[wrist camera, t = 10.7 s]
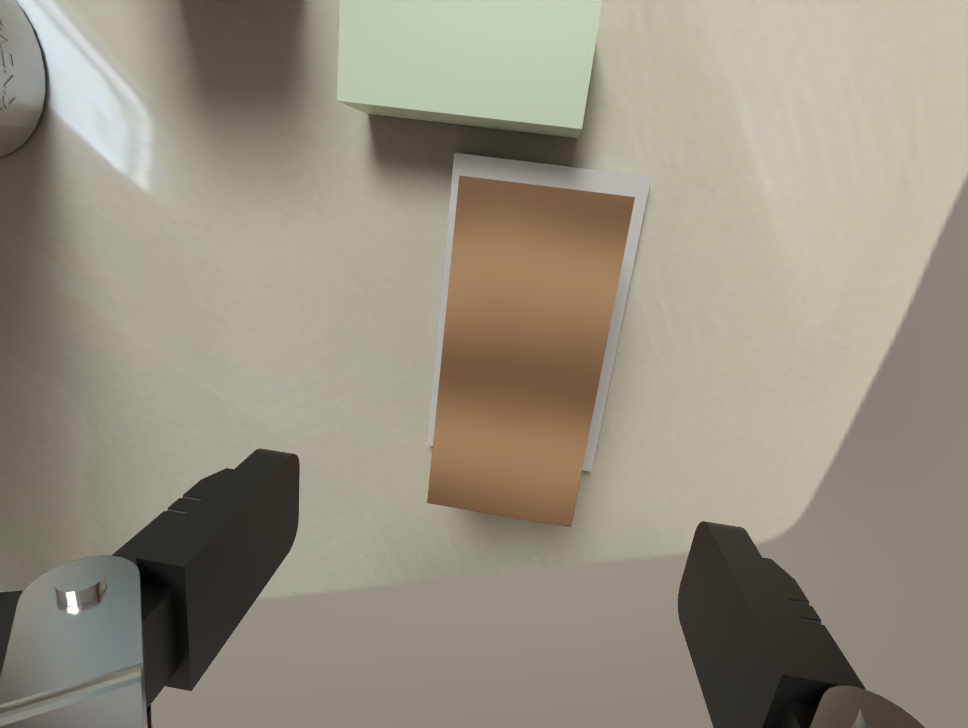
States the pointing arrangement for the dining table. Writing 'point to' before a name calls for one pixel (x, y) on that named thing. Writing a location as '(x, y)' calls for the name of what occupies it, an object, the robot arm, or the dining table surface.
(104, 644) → the robot arm
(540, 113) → the block
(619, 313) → the peg stand
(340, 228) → the dining table surface
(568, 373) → the board
